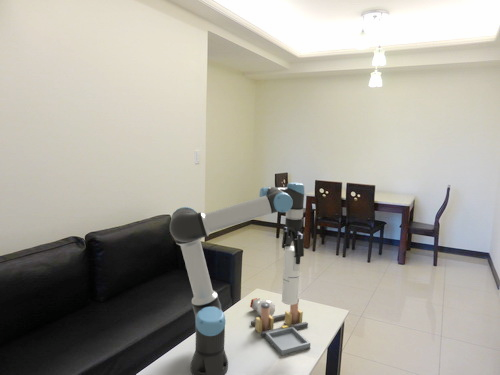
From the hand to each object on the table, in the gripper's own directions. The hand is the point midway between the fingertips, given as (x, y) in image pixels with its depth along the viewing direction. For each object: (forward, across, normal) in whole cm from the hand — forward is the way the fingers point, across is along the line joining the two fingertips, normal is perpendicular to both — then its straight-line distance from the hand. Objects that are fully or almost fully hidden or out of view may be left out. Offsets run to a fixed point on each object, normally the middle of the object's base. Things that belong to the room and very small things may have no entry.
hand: (291, 267), depth 156 cm
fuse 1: (+37, +14, +4) cm, 40 cm away
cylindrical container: (+16, 0, 0) cm, 16 cm away
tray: (+37, 0, 0) cm, 37 cm away
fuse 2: (+37, +14, -12) cm, 41 cm away
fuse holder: (+37, +14, -4) cm, 40 cm away
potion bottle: (+37, +28, -1) cm, 46 cm away
